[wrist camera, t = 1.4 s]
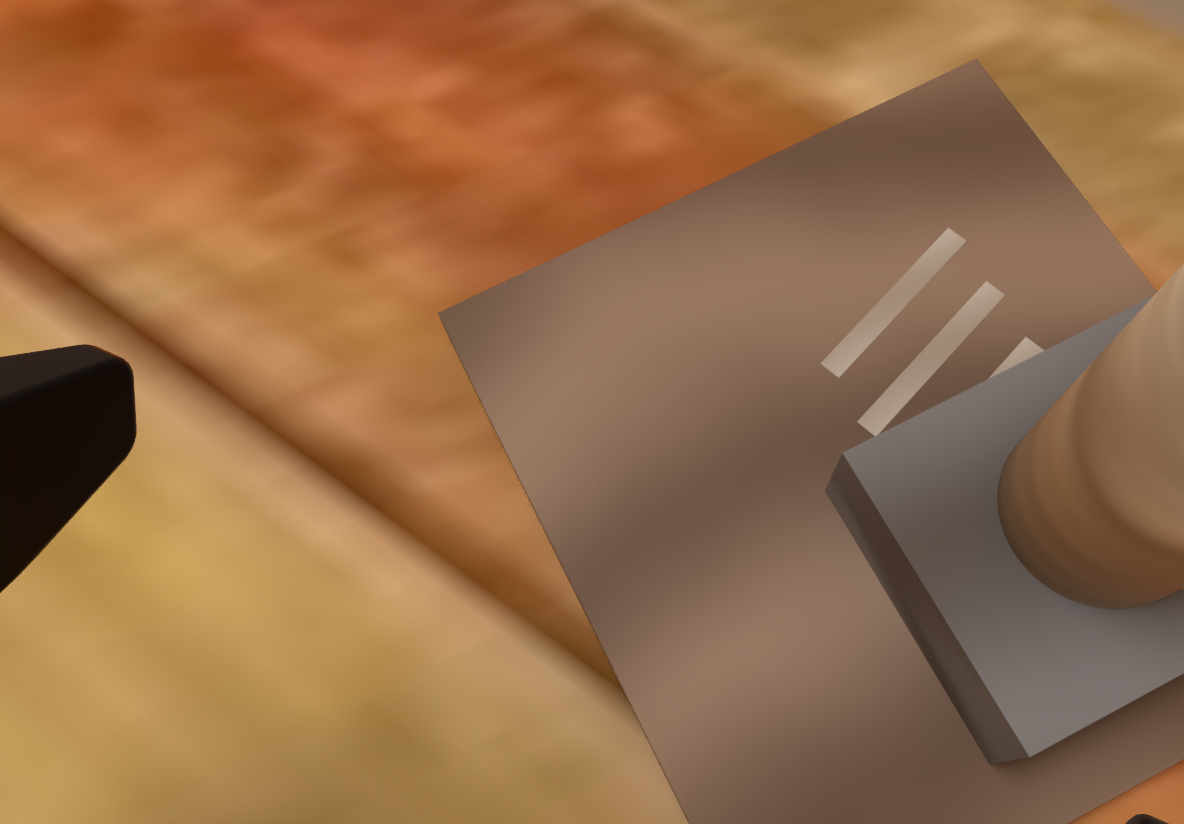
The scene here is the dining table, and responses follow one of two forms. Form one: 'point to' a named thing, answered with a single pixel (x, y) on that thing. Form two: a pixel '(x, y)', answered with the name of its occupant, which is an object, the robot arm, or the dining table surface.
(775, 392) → the walnut board
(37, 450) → the robot arm
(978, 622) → the tan and grey post
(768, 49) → the dining table surface
